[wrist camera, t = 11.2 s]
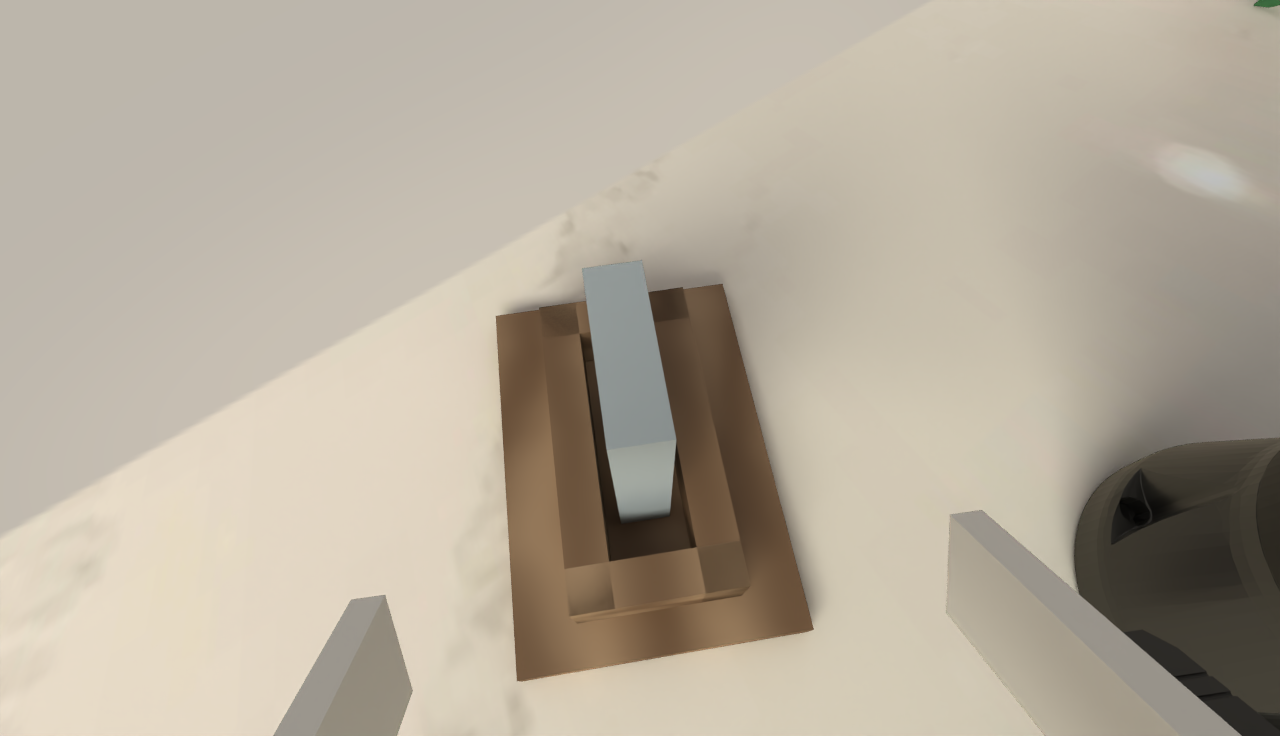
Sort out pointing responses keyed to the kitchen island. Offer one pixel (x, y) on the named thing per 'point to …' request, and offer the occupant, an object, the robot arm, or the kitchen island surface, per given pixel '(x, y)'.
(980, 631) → the robot arm
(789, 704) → the kitchen island surface
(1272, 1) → the flower vase
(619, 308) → the door panel
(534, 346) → the track board
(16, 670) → the kitchen island surface
